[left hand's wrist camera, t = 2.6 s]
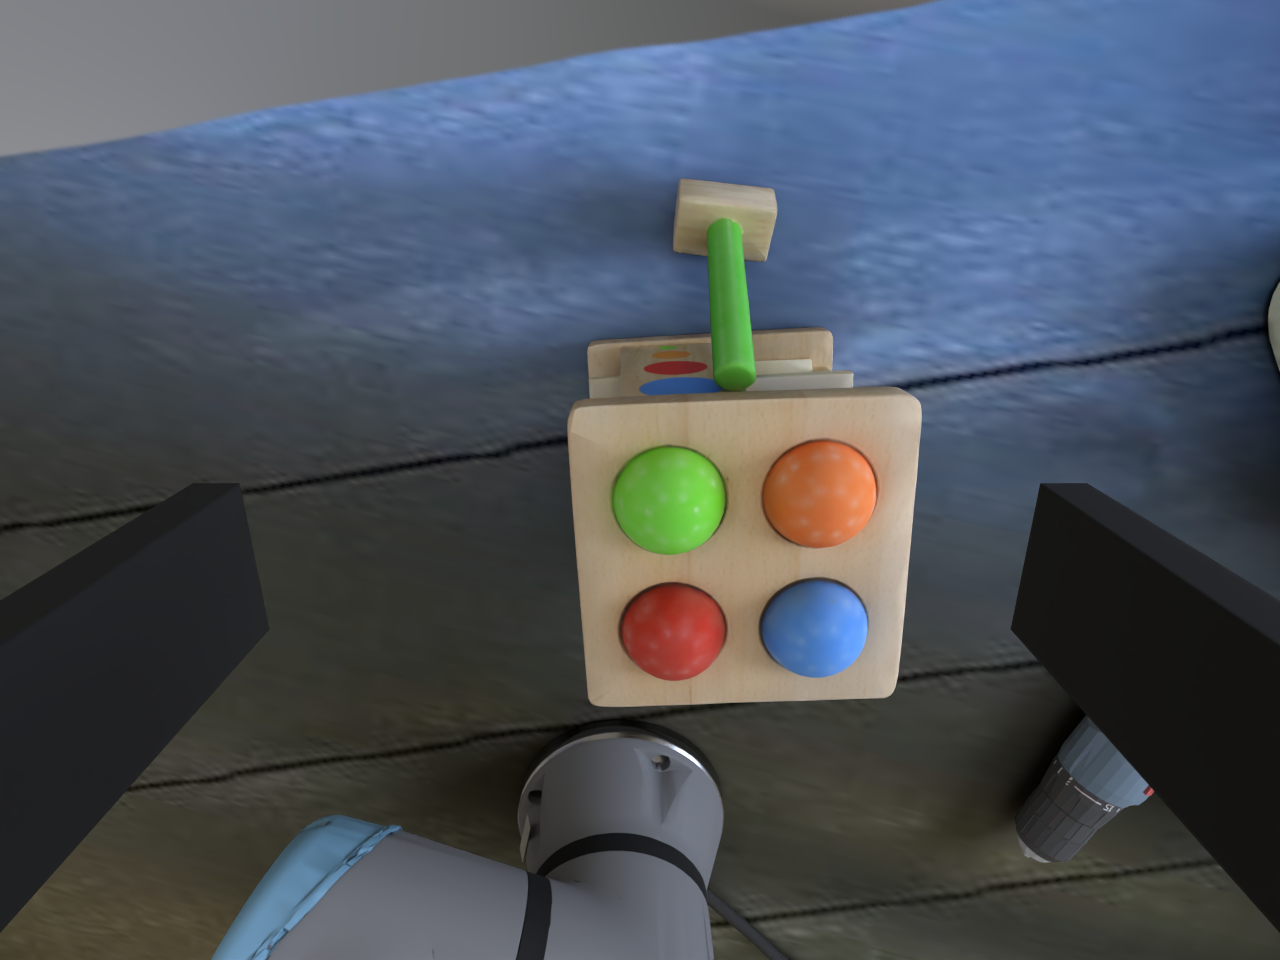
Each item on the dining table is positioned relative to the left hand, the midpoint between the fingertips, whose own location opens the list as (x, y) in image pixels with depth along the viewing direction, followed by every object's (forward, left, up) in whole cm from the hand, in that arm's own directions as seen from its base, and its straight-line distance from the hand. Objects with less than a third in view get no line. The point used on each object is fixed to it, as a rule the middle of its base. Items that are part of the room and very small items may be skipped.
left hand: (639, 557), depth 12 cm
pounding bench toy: (-6, -2, -33) cm, 33 cm away
